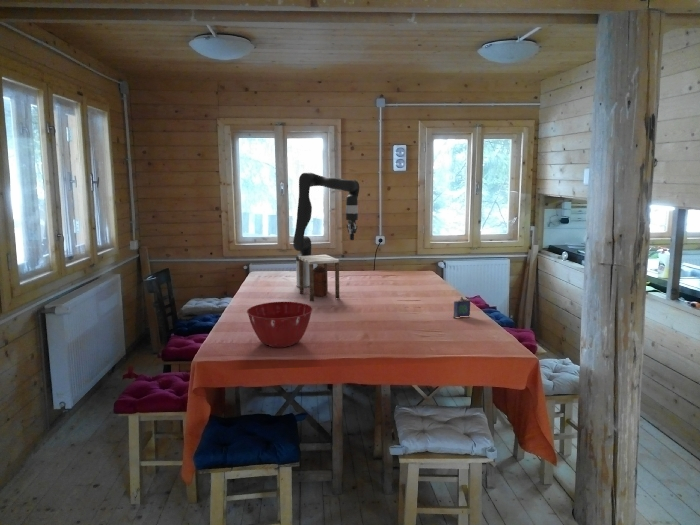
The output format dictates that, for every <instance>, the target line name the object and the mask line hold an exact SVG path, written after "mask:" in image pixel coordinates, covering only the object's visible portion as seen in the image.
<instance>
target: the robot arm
mask: <svg viewBox="0 0 700 525" xmlns="http://www.w3.org/2000/svg"><path fill="white" fill-rule="evenodd" d="M359 183H360V182H358V181H357V180H356V179H353V180H350V179H344V178H339V177H329V176H322V175H319V174H316V173H313V172H303V173H301V174H300V176H299V178H298V201H297V202H298V203H297V209H296V210H297V213H296V216H297V217H296V222H295V223H296V224H295V231H294V236H293V243H292V244H293V248H294V250H295V251H297V252H299V253H298V254H297V255H296V256H295V263H296V266H295V269H296V271H295V273H296V286H297V287H299V288H300V285H299V256H312V241H311V238H310V237H309V236H307V235H305V232H306V229H307V227H308V225H309V224H310V221H311V218H312V213H313V212H312V210H313V205H312V202H311V199H310V188H312V187H318V186H319V187H325V188H328V189H332V190H338V191H344V192H348V195H347V196H346V199H345V202H346V203H345V204H346V206H345V221H347V224H346V229H347V232H348V234H349V240H350V241H354V239H355V234H356V233H357V229H358V225H357V224H356V221H359V220H358V219H359V207H358V203H359V202H358V198H359V194H360V184H359ZM307 287H310V281H309V264H308V263H306V262H304V261H303V288H307Z"/></svg>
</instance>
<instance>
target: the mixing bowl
mask: <svg viewBox="0 0 700 525" xmlns="http://www.w3.org/2000/svg"><path fill="white" fill-rule="evenodd" d="M312 311H313V307H312V306H311V305H310V304H306V303H302V302H295V301H273V302H271V301H270V302H263V303H260V304H256V305H254V306H251V307H249V308H248V309H247V311H246V313H247V315H248V318H249V322H250V325H251V327H252V329H253V331H254V333H255V335H256V336H257V338H258V340H259V341H260V342H261V343H263V344H264V345H266V346H267V345H269V346H268V347H270V346H273V347H272V348H279V347H280V348H288V347H287V346H289V347H291V345H292V346H294V345H295V343H296V344H297V343H299V341H301V340H302V338H303V337H304V335H305V333H306V331H307V329H308V326H309V323H310V319H311V316H312ZM293 344H294V345H293Z"/></svg>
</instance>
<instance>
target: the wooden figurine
mask: <svg viewBox="0 0 700 525" xmlns="http://www.w3.org/2000/svg"><path fill="white" fill-rule="evenodd" d="M325 272H326V270H325V269H324V266H315V267H313V276H314V297H315V296H316V297H323V296H326V297H327V296H328V292H327V283H326V282H327V278H326V273H325Z"/></svg>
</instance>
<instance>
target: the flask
mask: <svg viewBox="0 0 700 525" xmlns="http://www.w3.org/2000/svg"><path fill="white" fill-rule="evenodd" d="M469 315H470V316H471V300H470V299H467V298H464V296H460V299H459V300H454V301H453V318H454V317H460V316H469Z"/></svg>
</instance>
